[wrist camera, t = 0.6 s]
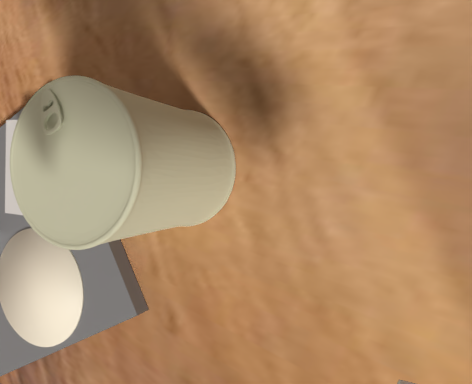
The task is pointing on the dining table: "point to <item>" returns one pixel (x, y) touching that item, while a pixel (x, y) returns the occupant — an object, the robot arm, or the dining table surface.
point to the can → (114, 164)
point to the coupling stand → (54, 283)
